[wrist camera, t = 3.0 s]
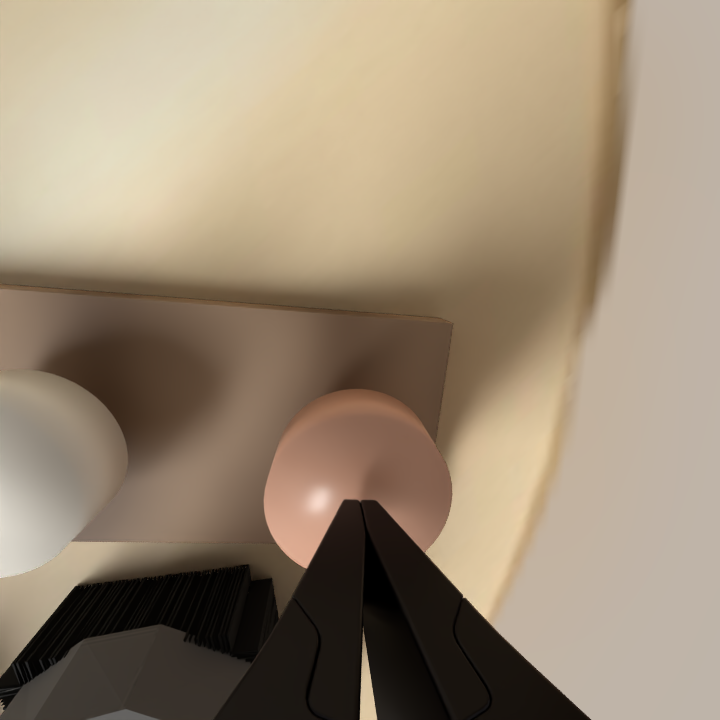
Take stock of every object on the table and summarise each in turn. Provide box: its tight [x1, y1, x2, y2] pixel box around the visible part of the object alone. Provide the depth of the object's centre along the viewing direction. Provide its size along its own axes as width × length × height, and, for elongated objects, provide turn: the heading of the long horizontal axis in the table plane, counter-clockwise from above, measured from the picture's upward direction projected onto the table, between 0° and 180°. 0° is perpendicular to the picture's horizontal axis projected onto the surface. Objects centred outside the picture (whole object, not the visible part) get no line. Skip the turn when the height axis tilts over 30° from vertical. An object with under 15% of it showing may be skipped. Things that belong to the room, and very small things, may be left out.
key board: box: [0, 284, 453, 544], centre depth 12 cm, size 25×9×2 cm, turn 85°
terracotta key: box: [264, 389, 452, 569], centre depth 10 cm, size 5×5×2 cm
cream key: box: [0, 369, 128, 578], centre depth 9 cm, size 5×5×2 cm
